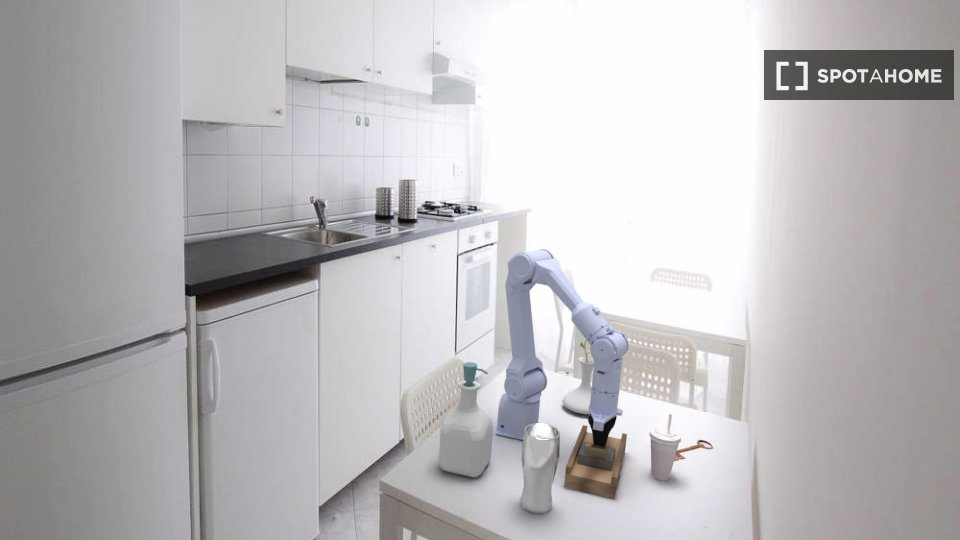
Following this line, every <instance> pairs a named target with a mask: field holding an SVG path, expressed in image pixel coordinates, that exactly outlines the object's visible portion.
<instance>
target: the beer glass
mask: <svg viewBox="0 0 960 540" xmlns="http://www.w3.org/2000/svg"><path fill="white" fill-rule="evenodd" d="M560 434H561V432H560V430H559V429H558V428H557V427H555V426H553V425H551V424H548V423H543V422H541V423H539V422H538V423H534V424H530V425H528V426H526V427H525V429H524V437H523V440H522V444H521V445H522V446H521V467H522V469H521V470H522V477H523V488H522V493H521V497H520V501H519V503H520V506H521V508H523V510H525V511H526V512H528V513H531V514H536V515H537V514H538V515H539V514H540V515H541V514H542V515H543V514H546V513H549V512H550V511H551V510H552V509H553V498H552V497H553V496H552V493H553V492H552V491H553V490H552V489H553V483H554V480H555V477H556V474H557V473H556V472H557V468H558V464H559V459H560V449H561V447H560V443H561V442H560V441H561V440H560V436H561V435H560Z"/></svg>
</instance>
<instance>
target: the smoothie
mask: <svg viewBox="0 0 960 540" xmlns="http://www.w3.org/2000/svg"><path fill="white" fill-rule="evenodd" d="M672 419H673V414H672V413H669V414H668V422H667V426H654V427H652V428H650V430H649V432H648V435H649V438H650V474H651V476H652V477H653V478H654V479H656V480H657V481H658V480H659V481H668V480H670V477H671V474H672V470H673V466H674V463H675V461H674V459H676V458H675V455H676V452H677V450H678V448H679V444H680V443H681V442H682V434H681V433H680V432H678V431H677V430H676V429H673V428H671V425H672Z"/></svg>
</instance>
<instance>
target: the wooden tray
mask: <svg viewBox="0 0 960 540" xmlns="http://www.w3.org/2000/svg"><path fill="white" fill-rule="evenodd" d="M627 438H628V434H627V433H624V432H622V433H621V438H617V437H612V436H608V439H607V442H606V446H607V447H611V448H616V452H615V459H614V463H613V467H612V471H610V470H606V469H601V468H597V467H592V466H588V465H583V464H579V463H577V459H578V453H579V450H580V448H581V445H582V443H583V442H588V443H592V444H594V443H593V434H592V432H588V425H584V424H583V425H582V426H581V429H580V432H579V434H578V435H577V438H576V442H575V444H574V446H573V449H572V451H571V453H570V456H569V458H568V460H567V462H566V463H567V464H566V465H565V474H564V486H563V487H564V488H565V489H566V488H567V489H571V490H575V491H580V492H583V493H589V494H592V495H596V496H601V497H604V498H609V499H613V500H615V499H616V495H617V490H618V485H619V481H620V476H621V472H622V467H623V463H624V459H625V453H626V446H627Z"/></svg>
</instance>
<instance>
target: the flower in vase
mask: <svg viewBox="0 0 960 540" xmlns="http://www.w3.org/2000/svg"><path fill="white" fill-rule="evenodd" d="M586 342H588V341H587V340H586V339H584V343H583V341H581V342H580V344H579V346H580V347H581V348H582V349H583V350H584V355H585V356H580V357H578V362H579V363H580V366H581V374H582V375H581V382H580V385H579V386H578V387H576V388H575V389H573V390H571V391H569V392H568V393H566V394H565V395H564V396H563V398H562V403H563V406H564V407H565V408H566V409H568V410H569V411H571V412H574V413H577V414H580V415H581V414H582V415H590V411H589V405H590V400H591V389H592V383H591V378H592V374H593V368H594V359H593V357H592V356H588V355H591V353H590V351H588V352H587V349H586Z"/></svg>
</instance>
